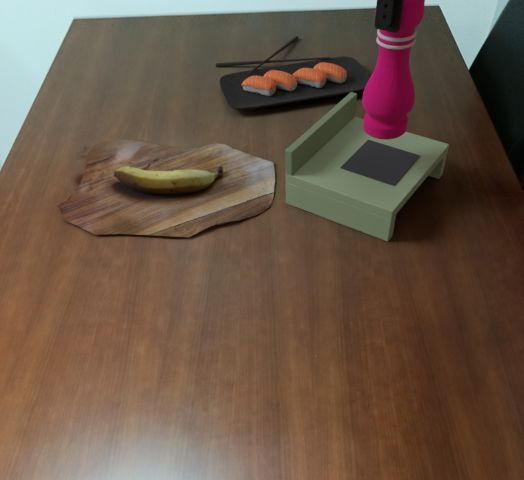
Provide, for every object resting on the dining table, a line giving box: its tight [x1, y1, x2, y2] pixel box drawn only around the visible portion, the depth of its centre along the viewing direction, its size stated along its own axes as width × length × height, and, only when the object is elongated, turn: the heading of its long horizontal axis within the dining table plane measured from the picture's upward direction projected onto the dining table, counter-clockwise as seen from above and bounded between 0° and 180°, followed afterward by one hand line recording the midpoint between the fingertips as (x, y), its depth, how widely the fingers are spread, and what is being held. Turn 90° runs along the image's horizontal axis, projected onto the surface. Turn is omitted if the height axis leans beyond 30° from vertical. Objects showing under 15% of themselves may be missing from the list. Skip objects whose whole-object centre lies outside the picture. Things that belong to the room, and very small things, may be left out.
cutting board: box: [55, 138, 276, 238], centre depth 96 cm, size 35×27×4 cm
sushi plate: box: [215, 35, 371, 111], centre depth 119 cm, size 29×30×4 cm
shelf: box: [284, 92, 450, 242], centre depth 91 cm, size 18×20×10 cm
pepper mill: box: [361, 0, 426, 139], centre depth 77 cm, size 7×7×20 cm
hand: (399, 18), depth 73 cm, fingers closed on pepper mill, 6 cm apart
